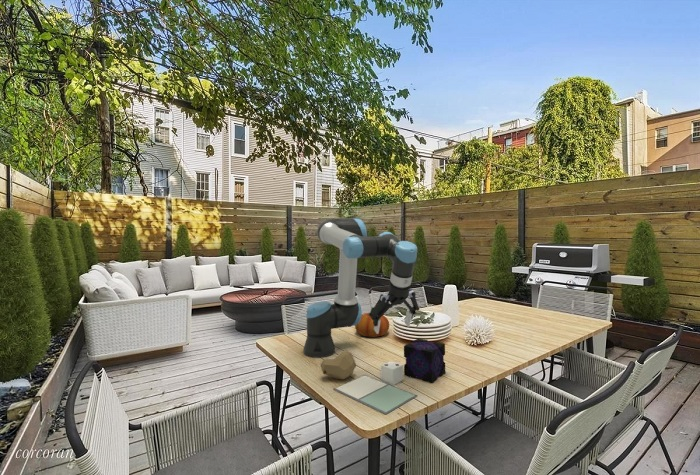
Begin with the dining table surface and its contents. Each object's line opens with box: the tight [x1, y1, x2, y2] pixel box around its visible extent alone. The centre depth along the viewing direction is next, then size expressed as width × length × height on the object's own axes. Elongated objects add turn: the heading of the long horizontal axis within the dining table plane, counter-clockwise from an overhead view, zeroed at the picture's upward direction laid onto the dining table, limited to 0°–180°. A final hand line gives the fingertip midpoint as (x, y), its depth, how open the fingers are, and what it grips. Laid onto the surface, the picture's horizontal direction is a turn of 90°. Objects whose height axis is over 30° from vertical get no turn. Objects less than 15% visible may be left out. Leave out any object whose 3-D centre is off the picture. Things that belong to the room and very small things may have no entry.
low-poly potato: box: [319, 349, 357, 381], centre depth 136 cm, size 15×11×12 cm
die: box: [380, 360, 404, 386], centre depth 132 cm, size 6×6×6 cm
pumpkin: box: [354, 306, 390, 338], centre depth 193 cm, size 19×19×15 cm
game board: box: [332, 374, 418, 416], centre depth 122 cm, size 25×17×1 cm
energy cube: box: [403, 338, 446, 384], centre depth 137 cm, size 12×12×12 cm
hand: (391, 328), depth 133 cm, fingers open, 13 cm apart
